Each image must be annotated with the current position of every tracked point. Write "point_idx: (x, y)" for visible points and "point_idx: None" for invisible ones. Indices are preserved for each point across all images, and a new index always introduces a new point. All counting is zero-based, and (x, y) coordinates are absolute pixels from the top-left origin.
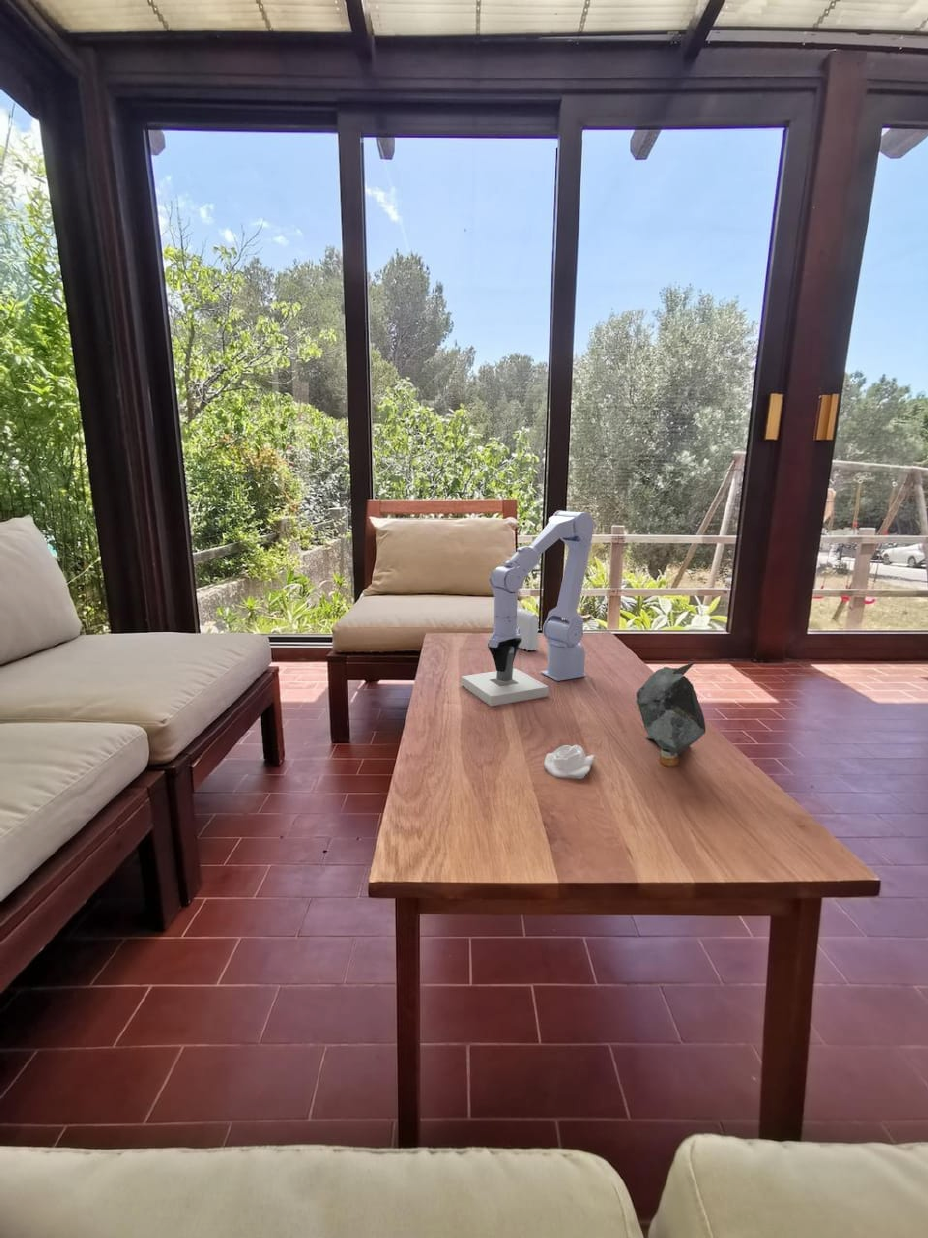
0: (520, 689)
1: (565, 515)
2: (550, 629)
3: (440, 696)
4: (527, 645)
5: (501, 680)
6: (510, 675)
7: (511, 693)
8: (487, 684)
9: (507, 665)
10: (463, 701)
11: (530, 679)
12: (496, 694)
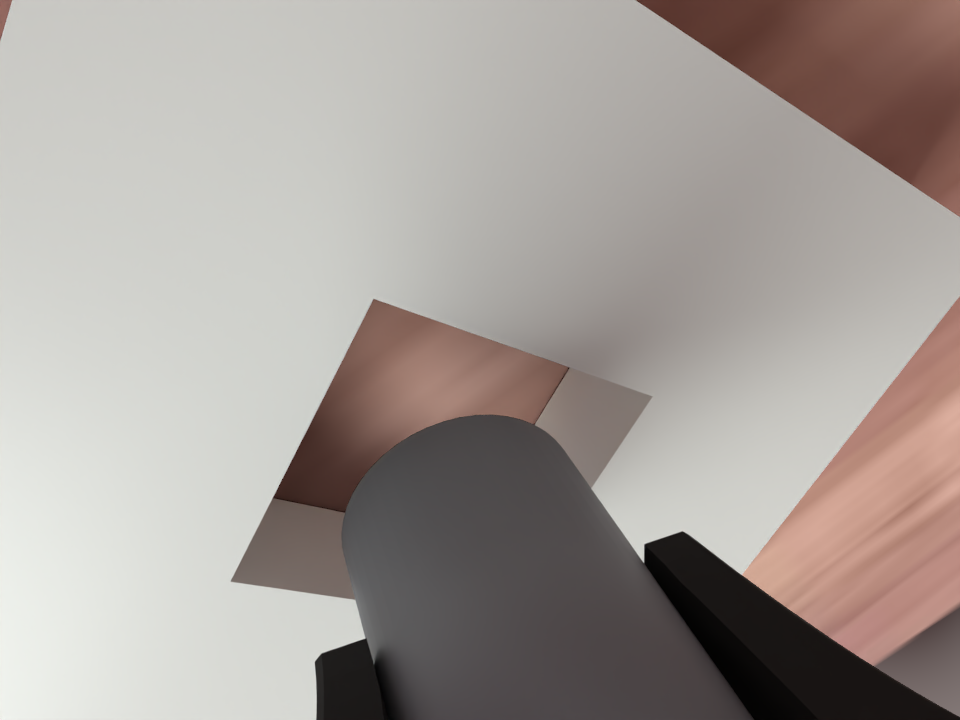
0: (630, 104)
1: None
2: None
3: (820, 618)
4: None
5: (331, 567)
6: (515, 461)
7: (812, 121)
8: (660, 523)
9: (671, 610)
10: (858, 453)
11: (51, 282)
12: (927, 240)
